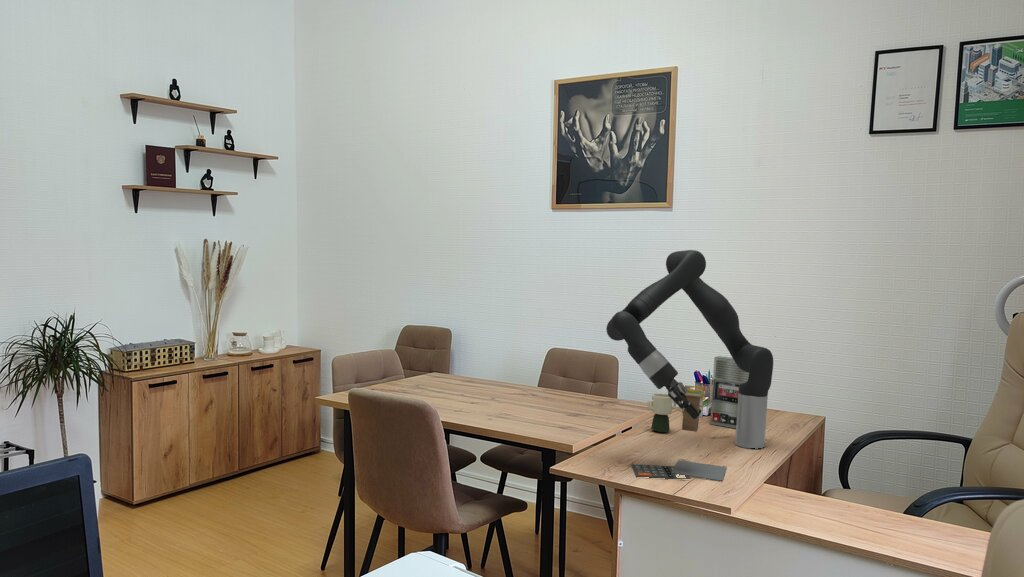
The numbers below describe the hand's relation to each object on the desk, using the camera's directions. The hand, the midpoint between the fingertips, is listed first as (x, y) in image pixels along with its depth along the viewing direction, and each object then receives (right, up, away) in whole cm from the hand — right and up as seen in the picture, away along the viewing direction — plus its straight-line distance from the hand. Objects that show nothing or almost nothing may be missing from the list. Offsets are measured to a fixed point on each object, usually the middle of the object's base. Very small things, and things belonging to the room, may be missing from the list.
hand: (697, 415), depth 207 cm
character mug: (-1, -14, +47) cm, 49 cm away
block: (-2, -4, +1) cm, 5 cm away
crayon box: (+17, -13, +76) cm, 79 cm away
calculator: (-11, -17, -1) cm, 20 cm away
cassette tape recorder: (+27, -15, +60) cm, 67 cm away
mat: (+1, -17, +2) cm, 17 cm away
